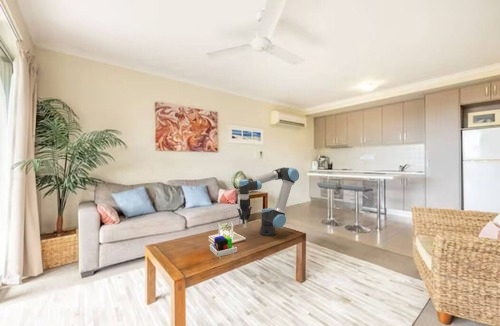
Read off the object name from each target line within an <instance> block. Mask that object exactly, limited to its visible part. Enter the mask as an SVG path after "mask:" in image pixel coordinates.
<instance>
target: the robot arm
mask: <svg viewBox="0 0 500 326" xmlns="http://www.w3.org/2000/svg"><path fill="white" fill-rule="evenodd" d="M299 179H300V172H299V170H298V169H297V168H293V167H280V168H277V169H274V170H272V171H271V172H268V173H264V174H261V175H258V176H255V177H251V178H248V179H245V178H244V179H240V180H239V181H238V188H239V191H238V193H239V206H238V208H237V207H236V210H237V212H238V215H239V219H240V220H241V221H242V222H241V223H242V227H243V229H247V227H248V226H247V225H248V220H249V219H250V218H251V217H250V216H251V212H252V208H253V207H252V206H251V205H250V199H249V198H250V193H249V192H250V191H259V190H261V189H262V187H263V186H262V185H263V184H265V183H268V182H271V181H278V180H281V182H282V184H281V187H280V191H279V194H278V197H277V200H276V204H275V207H274V208H272V207H270V208H267V207H266V208H263V209H261V212H260V215H261V216H260V218H261V219H260V220H261V225H260V228H259V235H261V236H264V237H272V236H275V235H276V232H277V231H276V228H282V227H284V226H285V224H286V222H287V217H286V212H285V210H286V207H287V203H288V200H289V197H290V193H291V190H292V187H293V185H295V183H296V182H297V181H298V180H299ZM275 227H276V228H275Z"/></svg>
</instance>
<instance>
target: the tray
mask: <svg viewBox="0 0 500 326" xmlns="http://www.w3.org/2000/svg"><path fill="white" fill-rule="evenodd" d="M208 249H209V251H211V252H212V253H213V254H214V256H215V257H216V258H219V257H223V256H227V255H231V254H235V253H237V252H238V247H237V246H236V247H232V248H230V249H226V250H222V251H217V250H216V249H215V248H214V243H210V244H209V245H208Z"/></svg>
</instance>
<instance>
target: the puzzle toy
mask: <svg viewBox="0 0 500 326" xmlns="http://www.w3.org/2000/svg"><path fill="white" fill-rule="evenodd" d="M213 238H214V239H213V240H214V243H213V244H214V248H215V249H216V250H217V251H222V250H226V249H230V248H233V247H232V246H233V245H232V244H233V243H232V242H233V239H232V238H231V237H229V236H228V235H227V234H224V235H219V236H214V237H213Z"/></svg>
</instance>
